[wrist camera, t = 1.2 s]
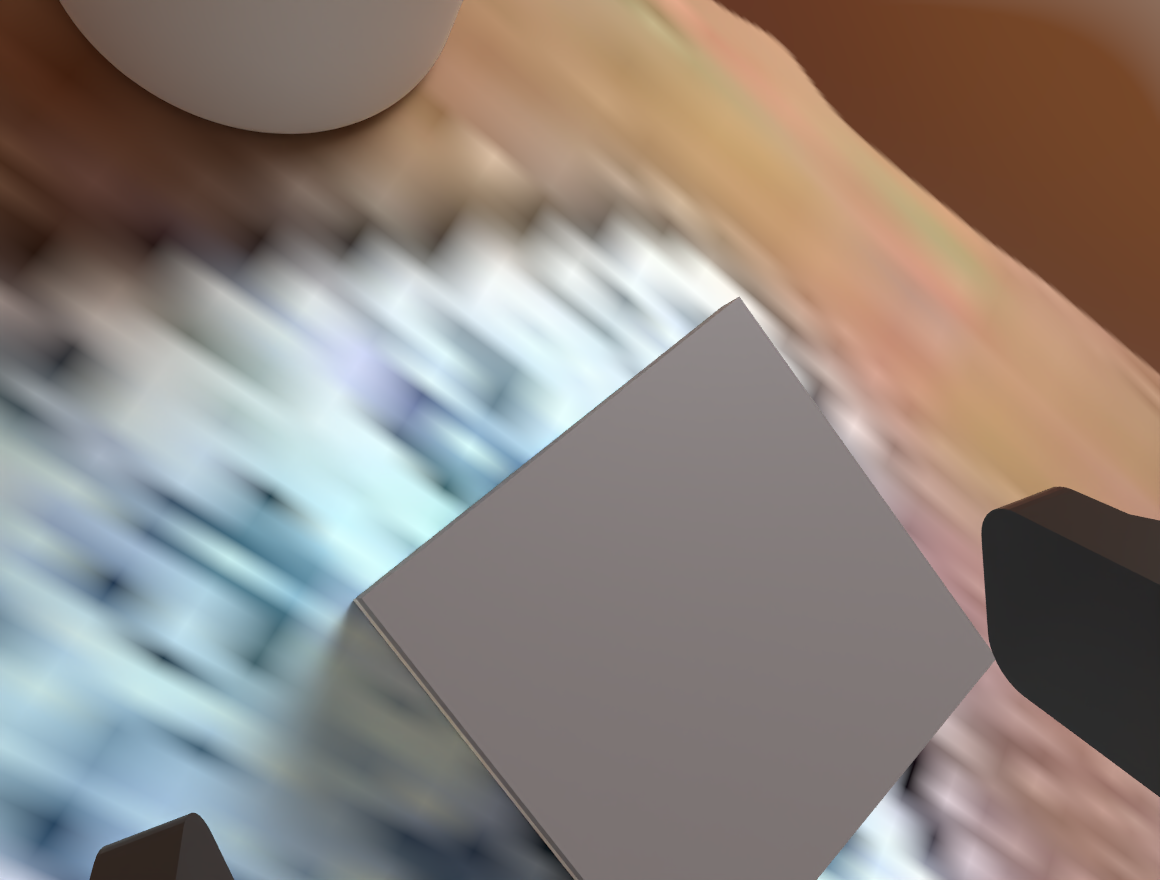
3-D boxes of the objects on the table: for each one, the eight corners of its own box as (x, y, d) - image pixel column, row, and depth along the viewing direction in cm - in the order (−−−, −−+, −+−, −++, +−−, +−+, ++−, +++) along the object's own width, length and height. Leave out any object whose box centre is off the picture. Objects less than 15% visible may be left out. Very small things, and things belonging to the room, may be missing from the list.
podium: (328, 597, 27) (361, 598, 20) (635, 357, 32) (739, 296, 25) (590, 927, 28) (698, 1024, 22) (846, 646, 33) (996, 658, 27)
